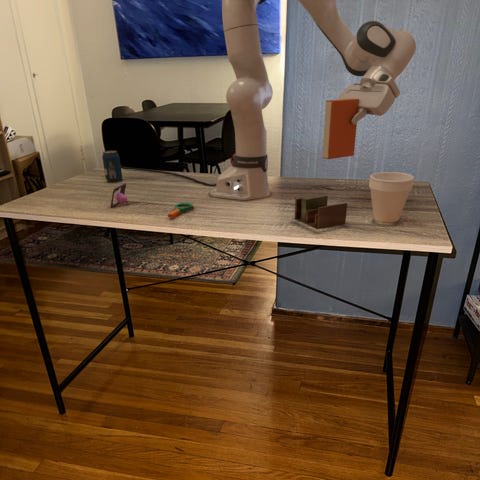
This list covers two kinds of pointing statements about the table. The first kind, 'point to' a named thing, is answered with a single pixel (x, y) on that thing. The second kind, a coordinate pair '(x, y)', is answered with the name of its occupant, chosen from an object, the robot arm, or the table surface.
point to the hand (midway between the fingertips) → (347, 122)
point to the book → (339, 128)
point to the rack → (319, 211)
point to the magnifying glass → (180, 209)
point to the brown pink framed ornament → (119, 195)
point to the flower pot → (389, 194)
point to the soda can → (112, 166)
